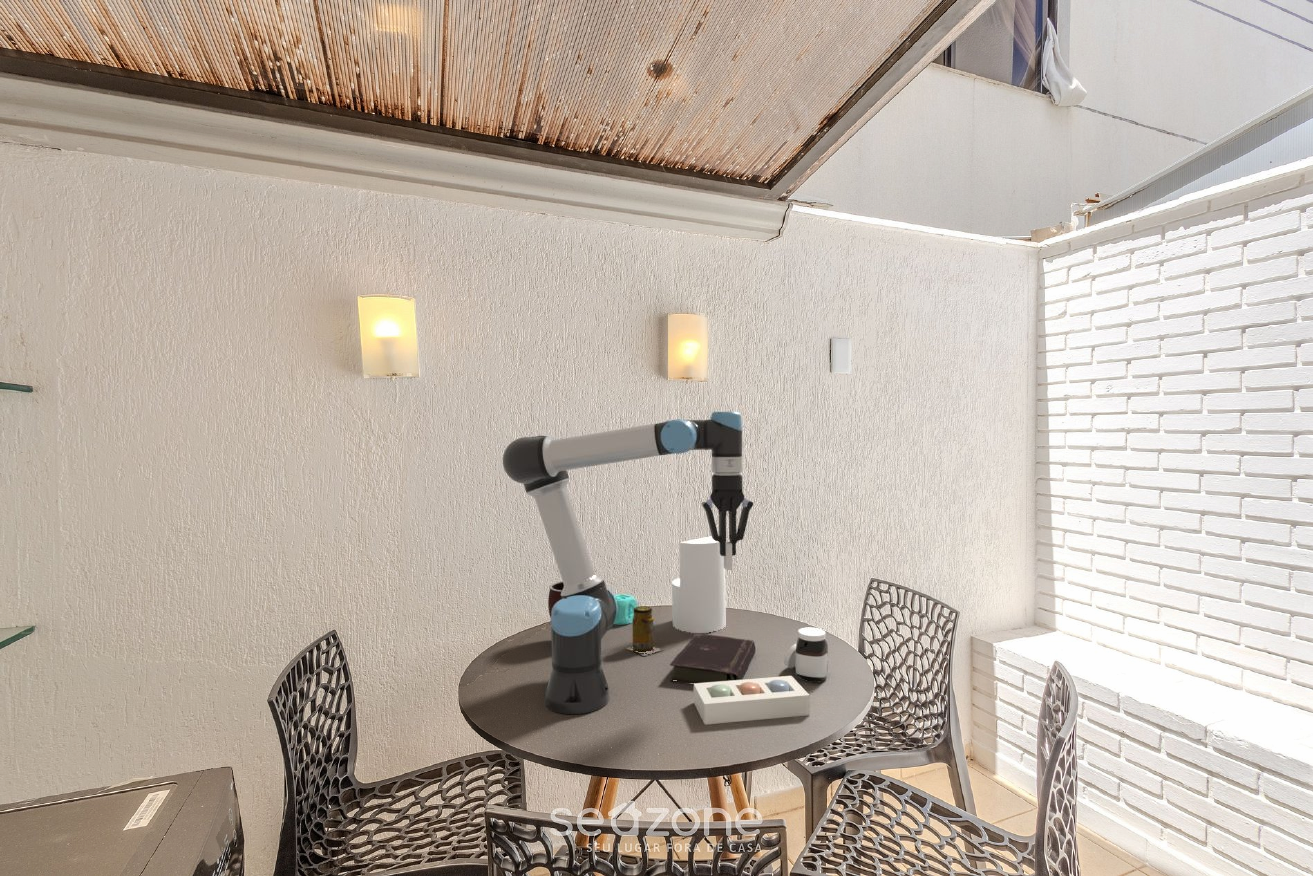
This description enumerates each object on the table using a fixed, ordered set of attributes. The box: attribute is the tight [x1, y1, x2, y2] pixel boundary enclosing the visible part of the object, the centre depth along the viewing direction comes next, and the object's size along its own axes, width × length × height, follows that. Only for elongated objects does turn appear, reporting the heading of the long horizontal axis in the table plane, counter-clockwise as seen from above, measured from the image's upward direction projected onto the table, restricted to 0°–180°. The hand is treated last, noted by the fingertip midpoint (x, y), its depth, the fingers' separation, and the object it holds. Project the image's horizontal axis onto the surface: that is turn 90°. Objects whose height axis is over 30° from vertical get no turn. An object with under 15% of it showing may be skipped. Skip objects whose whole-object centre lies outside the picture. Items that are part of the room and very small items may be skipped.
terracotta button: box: [740, 682, 760, 695], centre depth 144 cm, size 4×4×3 cm
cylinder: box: [671, 535, 727, 634], centre depth 205 cm, size 17×17×28 cm
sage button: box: [711, 684, 730, 698], centre depth 143 cm, size 4×4×3 cm
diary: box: [669, 633, 756, 684], centre depth 169 cm, size 19×25×5 cm
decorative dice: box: [613, 593, 639, 626], centre depth 210 cm, size 8×8×8 cm
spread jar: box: [783, 626, 829, 683], centre depth 163 cm, size 12×11×12 cm
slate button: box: [770, 680, 789, 693], centre depth 145 cm, size 4×4×3 cm
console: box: [693, 675, 811, 725], centre depth 144 cm, size 24×11×4 cm, turn 99°
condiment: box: [626, 605, 661, 657], centre depth 183 cm, size 7×8×12 cm
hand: (727, 568), depth 157 cm, fingers closed
